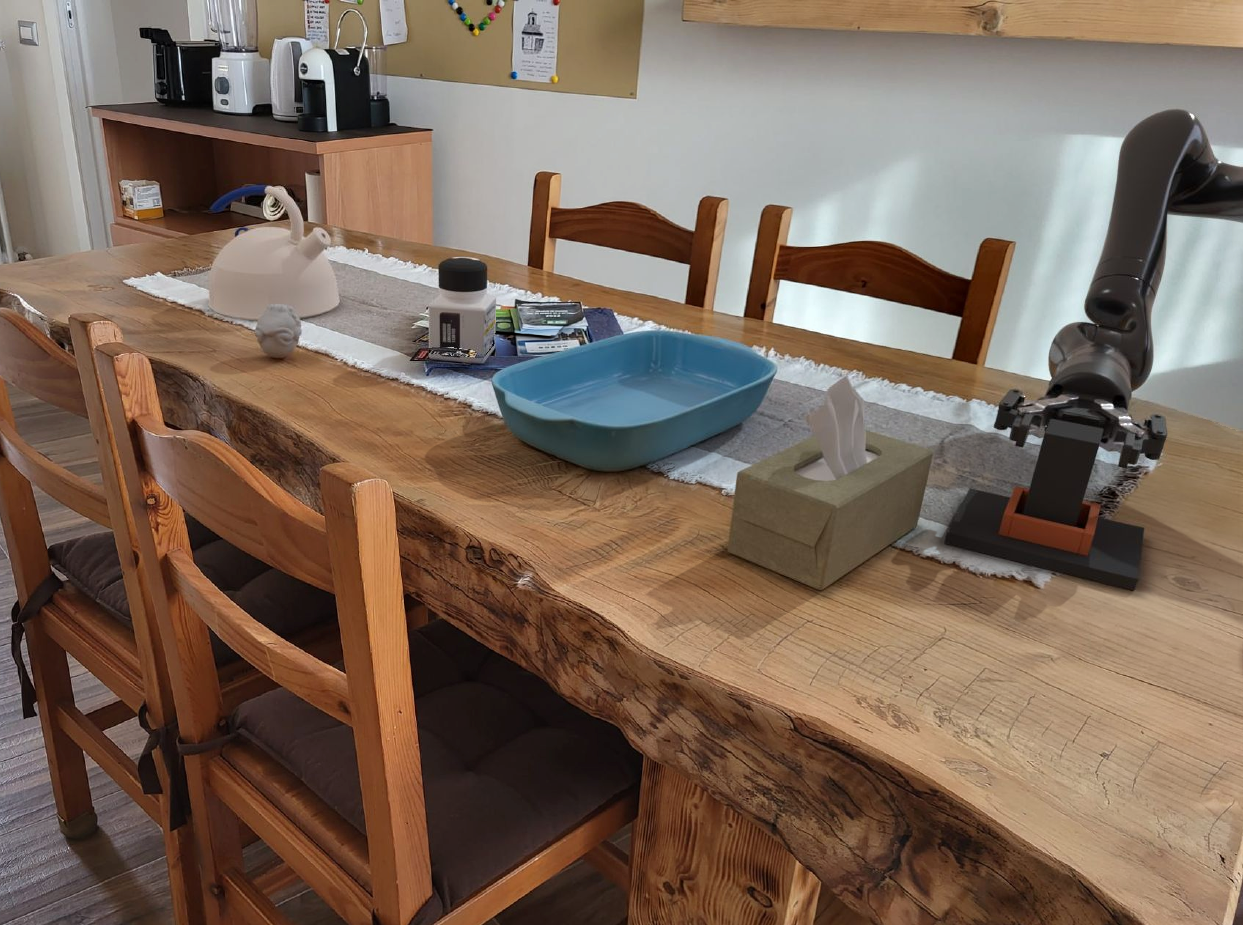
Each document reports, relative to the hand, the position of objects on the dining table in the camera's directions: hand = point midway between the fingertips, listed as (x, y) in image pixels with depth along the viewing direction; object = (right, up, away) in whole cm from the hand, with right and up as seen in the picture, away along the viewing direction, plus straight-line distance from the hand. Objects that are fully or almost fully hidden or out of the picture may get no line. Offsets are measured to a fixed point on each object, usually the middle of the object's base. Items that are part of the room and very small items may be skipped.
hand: (1072, 447), depth 93 cm
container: (-58, +17, +52) cm, 80 cm away
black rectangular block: (0, -7, +5) cm, 9 cm away
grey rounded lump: (-83, +16, +48) cm, 97 cm away
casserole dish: (-36, +4, +29) cm, 47 cm away
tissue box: (-21, -8, +5) cm, 23 cm away
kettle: (-89, +28, +72) cm, 118 cm away
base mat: (0, -8, +6) cm, 10 cm away
